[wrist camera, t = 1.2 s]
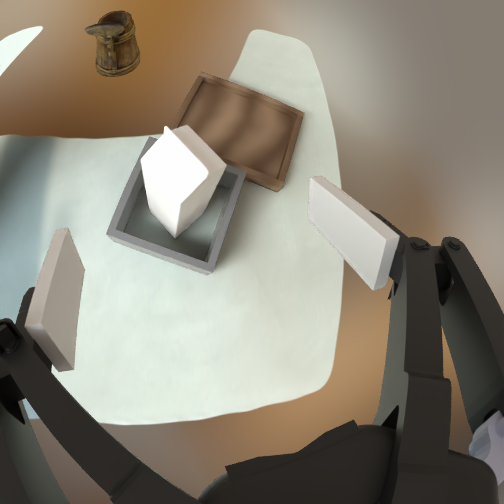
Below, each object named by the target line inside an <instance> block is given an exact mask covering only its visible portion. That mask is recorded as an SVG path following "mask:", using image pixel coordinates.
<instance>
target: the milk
mask: <svg viewBox="0 0 504 504" xmlns="http://www.w3.org/2000/svg"><path fill="white" fill-rule="evenodd" d="M141 166H142V172H143V177H144V183H145V189H146V194H147V200H148V205H149V210H150V212H151V213H152V214H153V215H154V216H155V217H156V218H157V219H158V221H159V222H160V223H161V224H162V225H163V226H164V227H165V228H166V229H167V230H168V232H169V233H170V234H171V235H172V236H173V237H174V238H175V239H176V238H177V237H178V236H179V235H180V234H181V233H182V232H183V231H184V230H186V229H187V228H188V227H189V226H190V225H191V224H192V223H193V222H194V221H196V220H197V219H198V218H199V217H200V216H201V215H202V214H203V213H204V211H205V209H206V207H207V205H208V203H209V201H210V199H211V197H212V195H213V193H214V191H215V188H216V186H217V184H218V182H219V180H220V178H221V176H222V174H223V172H224V170H225V168H226V166H227V165H226V164H225V163H224V162H223V161H222V160H221V158H220V157H219V156H218V155H217V154H216V153H215V152H214V151H213V150H212V149H211V148H210V147H209V146H208V145H207V144H206V143H205V142H204V141H203V140H202V139H201V138H200V137H199V136H198V135H197V134H196V133H195V132H194V131H193V130H192V129H191V128H190V127H189V126H188V125H185V126H182V127H179V128H176V129H173V130H170V129H169V128H168V127H167V126H165V127H164V134H163V135H162V136H161V137H160V138H159V139H158V140H157V141H156V142H155V143H154V145H153V146H152V147H151V148H150V149H149V150H148V151H147V152H146V154H145V155H144V156H143V157H142V158H141Z"/></svg>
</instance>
